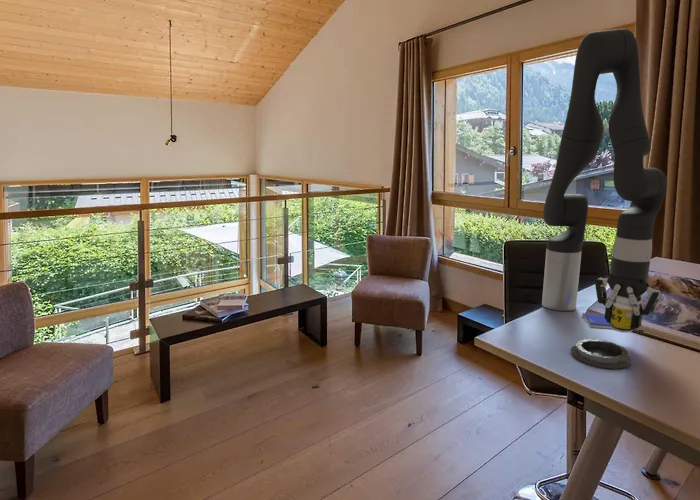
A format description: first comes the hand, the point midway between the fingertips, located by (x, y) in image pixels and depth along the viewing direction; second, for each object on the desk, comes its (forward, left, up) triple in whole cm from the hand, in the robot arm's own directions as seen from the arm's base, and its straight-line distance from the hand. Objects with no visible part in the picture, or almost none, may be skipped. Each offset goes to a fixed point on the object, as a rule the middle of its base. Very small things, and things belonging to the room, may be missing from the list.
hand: (621, 325), depth 107 cm
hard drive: (-13, +3, -5) cm, 15 cm away
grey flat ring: (+9, -8, -5) cm, 12 cm away
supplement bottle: (0, 0, -1) cm, 1 cm away
